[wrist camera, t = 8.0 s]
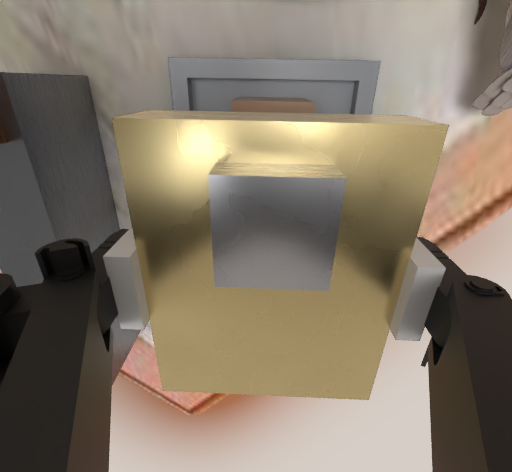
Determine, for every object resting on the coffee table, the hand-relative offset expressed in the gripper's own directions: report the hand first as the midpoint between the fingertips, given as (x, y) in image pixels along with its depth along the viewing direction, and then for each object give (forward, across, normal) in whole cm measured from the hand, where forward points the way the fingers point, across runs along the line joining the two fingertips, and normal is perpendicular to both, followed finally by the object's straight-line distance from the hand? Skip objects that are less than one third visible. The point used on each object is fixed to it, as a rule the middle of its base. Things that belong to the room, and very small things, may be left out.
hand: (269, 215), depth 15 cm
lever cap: (-3, 0, 0) cm, 3 cm away
